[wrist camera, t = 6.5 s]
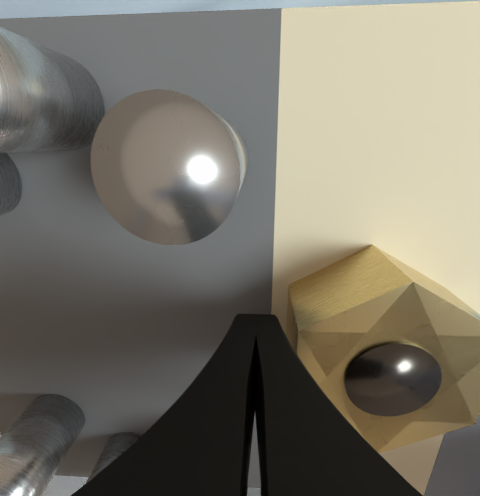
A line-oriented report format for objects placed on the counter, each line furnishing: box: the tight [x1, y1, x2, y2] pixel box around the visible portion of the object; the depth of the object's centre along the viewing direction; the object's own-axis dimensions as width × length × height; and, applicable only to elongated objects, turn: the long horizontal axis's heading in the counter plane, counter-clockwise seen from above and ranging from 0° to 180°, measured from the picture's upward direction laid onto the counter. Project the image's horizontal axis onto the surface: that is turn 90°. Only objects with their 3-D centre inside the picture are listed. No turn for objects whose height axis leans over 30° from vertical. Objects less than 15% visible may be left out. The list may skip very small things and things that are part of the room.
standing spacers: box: [0, 27, 248, 496], centre depth 9 cm, size 9×16×4 cm, turn 1°
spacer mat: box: [0, 1, 480, 496], centre depth 10 cm, size 19×18×1 cm
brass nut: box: [286, 245, 480, 453], centre depth 9 cm, size 5×6×3 cm
